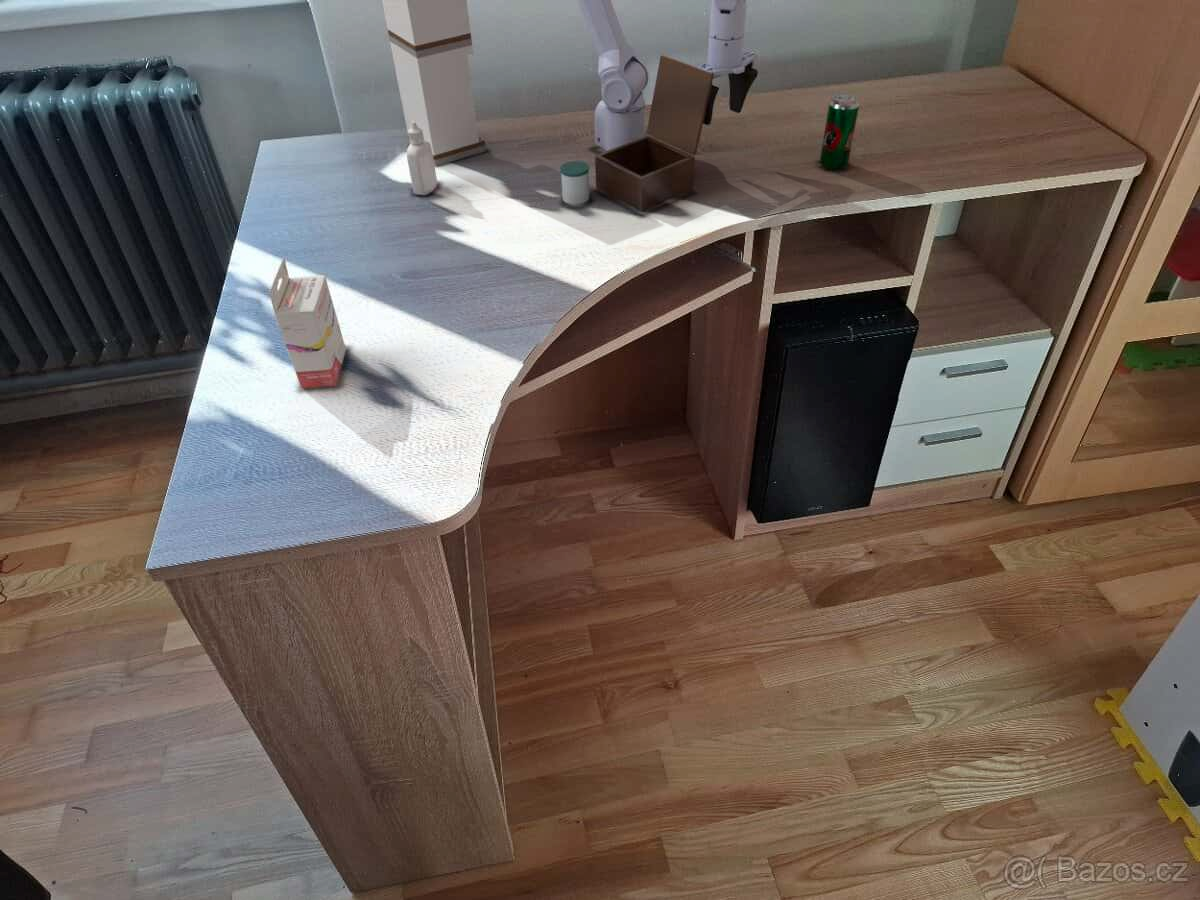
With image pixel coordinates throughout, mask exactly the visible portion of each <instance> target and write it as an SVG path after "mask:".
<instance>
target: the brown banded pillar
mask: <svg viewBox="0 0 1200 900" xmlns="http://www.w3.org/2000/svg"><path fill="white" fill-rule="evenodd" d="M381 3H382V9H383V13H384V18H385V23H386V29H387V34H388V38H389V43H390V49H391V55H392V61H393V64H394V70H395V74H396V79H397V85H398V90H399V96H400V100H401V105H402V111H403V116H404V120H405V126H406V129H407V130H406V131H407V137H408V138H409V134H408V130H409V129H411V122H413V121H415V122H416V124H417V127H418V128H421V129H422V131H423V137H424V140H425V141H428V142H429V143H430V145H431V149H432V155H433V160H434V166H435V167H439V166H441V165H444V164H448V163H452V162H454V161H458V160H462V159H464V158H467V157H471V156H475V155H478V154H482V153H484V152H487V149H486V141H485V139H483V138H481V137H480V136H479V130H478V123H477V116H476V109H475V101H474V93H473V86H472V79H471V78H472V77H471V71H470V63H469V56H468V55H474V48H473V40H472V31H471V24H470V16H469V10H468V2H467V0H381ZM408 140H409V139H408ZM409 143H410V140H409Z"/></svg>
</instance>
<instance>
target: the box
mask: <svg viewBox="0 0 1200 900" xmlns="http://www.w3.org/2000/svg"><path fill="white" fill-rule="evenodd" d="M594 166H595V168H594V170H595V188H596V189H597V190H599V191H601V192H603V193H604V194H606V195H608V196H610V197H612V198H614V199H615V200H617V201H619V202H621V203H623V204H625V205H627V206H629V207H630V208H632V209H634V210H636V211H638V212H639V213H644V212H645V211H648V210H650V209H652V208H654V207H657V206H659V205H661V204H663V203H667V202H668V201H671V200H673V199H675V198H678V197H680V196H681V195H685V194H686V193H688V192H691V191H693V190H694V177H695V176H694V175H695V156H694V155H692V154H690V153H688V152H685V151H683V150H681V149H679V148H677V147H674V146H672V145H670V144H668V143H667V144H666V142H664V141H661V140H659V139H657V138H655V137H653V136H650V135H645V137H642V138H640V139H637V140H634V141H632V142H629V143H627V144H624V145H621V146H619V147H616V148H614V149H611V150H608V151H606V150H605V151H602V152H601V153H598V154H596V155H594Z"/></svg>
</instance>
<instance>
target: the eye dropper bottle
mask: <svg viewBox="0 0 1200 900" xmlns="http://www.w3.org/2000/svg"><path fill="white" fill-rule="evenodd" d="M408 134H409V137H408V140H410V142H409V145H408V147H407V149H406V160H407V166H408V170H409V175H410V180H411V186H412V192H413V194H414V195H418V196H427V195H429V194H431V193H432V192H433V191H434V190H435V189H436V188H437V186H438V177H437V173H436V166H435V165H434V160H433V155H432V149H431V145H430V143H429V142H428V141H425V140H424V137H423V131H422V129H421V128H418V127H417V124H416V122H415V121H413V122H411V129H409V130H408V132H407V135H408Z"/></svg>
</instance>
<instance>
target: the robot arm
mask: <svg viewBox="0 0 1200 900" xmlns="http://www.w3.org/2000/svg"><path fill="white" fill-rule="evenodd" d="M576 1H577V4H578V7H579V9H580V11H581V14H582V17H583V19H584V23H585V25H586V27H587V30H588V32H589V35H590V37H591V41H592V44H593V45H594V48H595V50H596V53H597V57H598V65H597V67H598V70H597V73H598V74H597V75H598V77H599V80H600V85H601V88H600V95H601V100H600V101H599V102H598V104H597V106H596V107H595V111H594V117H593V118H594V119H593V120H594V145H595V146H597V147H599V148H601V149H603V150H604V151H605V152H606V151H608V150H611V149H614V148H616V147H619V146H621V145H624V144H627V143H629V142H632V141H634V140H637V139H640V138H642V137H645V136H646V135H645V134H646V132H645V131H646V129H645V128H646V100H645V98H644V95H643V91H644V90H645V89H646V87H647V85H648V83H649V71H648V69H647V67H646V65H645V64H644V62H642V61H641V60H640V58H639V57H638V55H637V53H636V49H635V48H633V46H632V45H630V44H629V43H628V42H627V40H626V38H625V35H624V32H623V29H622V27H621V24H620V21H619V18H618V16H617V13H616V10H615V8H614V5H613V2H612V0H576ZM747 5H748V4H747V0H712V1H711V4H710V16H709V18H710V19H709V34H708V47H707V49H708V50H707V60H706V61H705V62H704V63H702V64H701V65H700V66H698V67H697V68H700V69H703V70H705V71H708V72H711V73H714V76H713V80H714V79H717V78H720V77H722V76H725V75H727V76H728V83H729V99H728V101H729V102H728V103H729V105H728V106H729V110H730V111H731V112H734V113H736V114H740V113H741V112H742V109H743V106H744V103H745V101H746V98H747V95H748V93H749V90H750V89H751V87H752V85H753V83H754V81H755V80H756V79H757V77H758V74H759V70H758V69H756V68H754V67H756V66H757V65H758V58H759V57H758V56H759V53H756V52H753V51H751V50H749V51H746V52H743V49H744V41H745V30H746V16H747V7H748V6H747ZM719 90H720V87H719V86H716V85H714V84H712V85H711V90H710V94H709V99H708V103H707V108H706V112H705V117H704V121H703V125H706V126H710V125H711V123H712V119H713V114H714V113H713V112H714V105H715V101H716V98H717V95H718V92H719Z"/></svg>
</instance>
